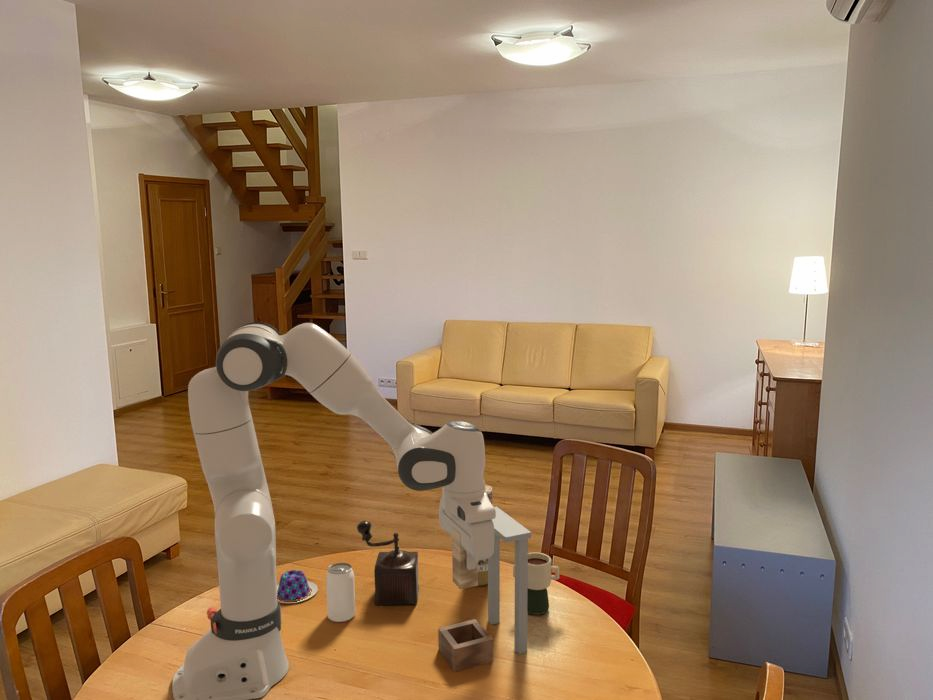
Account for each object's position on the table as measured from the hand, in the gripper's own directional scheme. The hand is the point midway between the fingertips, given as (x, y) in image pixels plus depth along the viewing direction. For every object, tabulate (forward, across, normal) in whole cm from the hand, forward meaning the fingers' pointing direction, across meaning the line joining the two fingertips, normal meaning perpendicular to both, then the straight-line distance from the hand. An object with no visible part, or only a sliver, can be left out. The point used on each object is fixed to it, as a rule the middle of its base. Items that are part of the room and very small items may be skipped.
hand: (464, 562), depth 146 cm
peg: (+5, 0, 0) cm, 5 cm away
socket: (+21, 0, 0) cm, 21 cm away
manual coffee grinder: (+21, -32, -7) cm, 39 cm away
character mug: (+21, -10, +23) cm, 33 cm away
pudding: (+21, -43, -28) cm, 56 cm away
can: (+21, -27, -20) cm, 40 cm away
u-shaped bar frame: (+21, -3, +10) cm, 23 cm away
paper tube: (+21, -29, +17) cm, 40 cm away
